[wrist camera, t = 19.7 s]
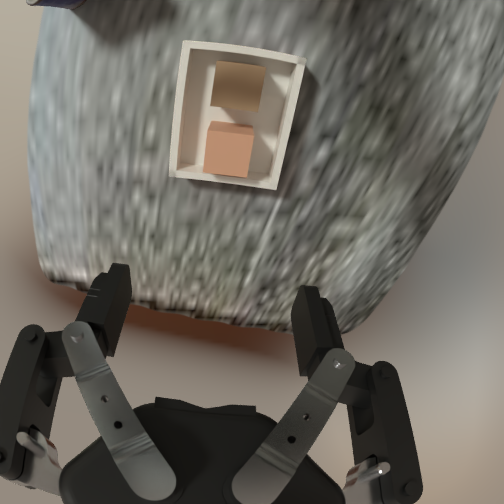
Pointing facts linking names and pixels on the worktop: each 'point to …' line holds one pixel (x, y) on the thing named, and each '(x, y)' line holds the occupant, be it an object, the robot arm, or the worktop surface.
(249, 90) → the walnut block
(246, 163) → the terracotta block
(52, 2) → the flask
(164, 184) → the worktop surface
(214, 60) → the tray
